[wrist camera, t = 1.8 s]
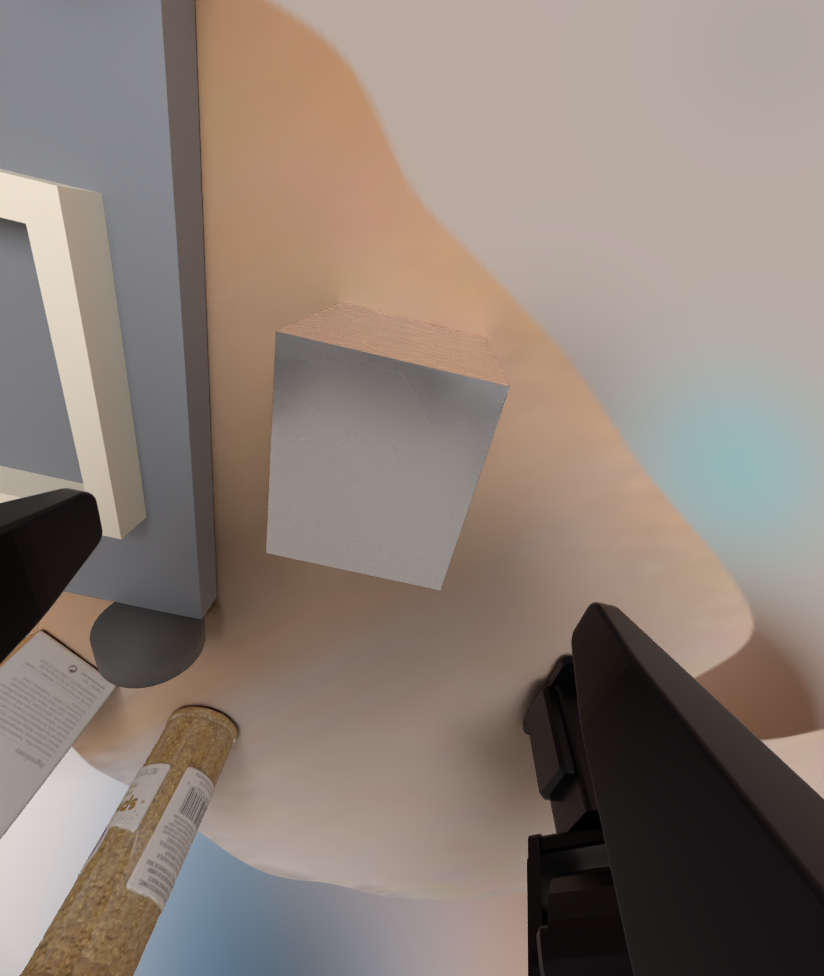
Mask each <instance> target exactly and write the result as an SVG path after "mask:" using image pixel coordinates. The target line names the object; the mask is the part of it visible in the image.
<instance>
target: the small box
mask: <svg viewBox="0 0 824 976" xmlns="http://www.w3.org/2000/svg"><path fill="white" fill-rule="evenodd" d="M115 688H116V685H114V684H111V683H110V682H108V681H107V680H105V679H104V678H103V677H102V676H101V674H100V673H99V671H98V670H96V669H95V668H94V667H92V666H91V665H89V664H88V663H86V662H85V661H84V660H82V659H81V658H80V657H78V656H77V655H75V654H74V653H72V652H71V651H70V650H68V649H67V648H66V647H64V646H63V645H62V644H60V643H59V642H57V641H56V640H55V639H53V638H52V637H50V636H49V635H48V634H46V633H45V632H43V631H38V632H36V633H34V634H33V635H31V636H29V637H28V638H26V639H24V640H22V641H21V642H20V643H19V645H18V646H17V647H16V648H15V649H14V650H13V651H12V652H11V653H10V654H9V655H8V657H7V658H6V659H5V660H4V661H3V662H2V663H1V664H0V839H1V838H2V836H3V835H4V834H5V833H6V831H7V830H8V829H9V827H10V826H11V825H12V823H13V822H14V821H15V820H16V818H17V817H18V816H19V815H20V813H21V812H22V810H23V809H24V808H25V807H26V805H27V804H28V803H29V801H30V800H31V799H32V797H33V796H34V795H35V793H36V792H37V791H38V790H39V788H40V787H41V786H42V784H43V783H44V782H45V780H46V779H47V778H48V776H49V775H50V774H51V773H52V771H53V770H54V768H55V767H56V766H57V765H58V763H59V762H60V761H61V759H62V758H63V757H64V755H65V754H66V753H67V752H68V750H69V749H70V748H71V746H72V745H73V743H74V742H75V741H76V740H77V738H78V737H79V736H80V734H81V733H82V732H83V730H84V729H85V728H86V726H87V725H88V724H89V723H90V721H91V720H92V719H93V717H94V716H95V714H96V713H97V712H98V710H99V709H100V708H101V707H102V705H103V704H104V703H105V701H106V700H107V699H108V697H109V696H110V695H111V693H112V692H113V690H114V689H115Z"/></svg>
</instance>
